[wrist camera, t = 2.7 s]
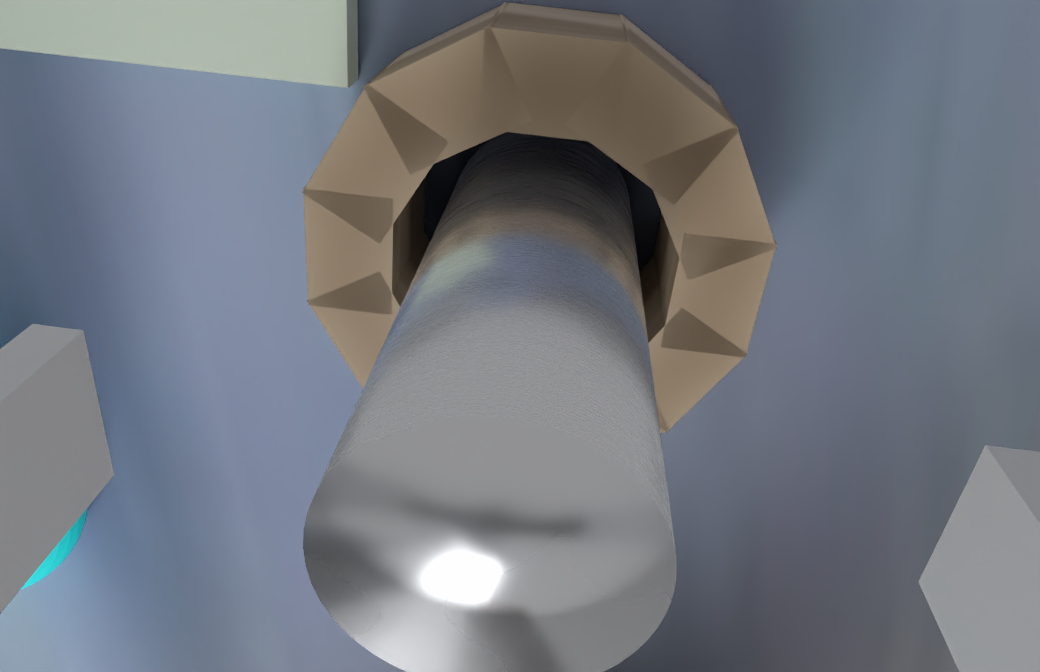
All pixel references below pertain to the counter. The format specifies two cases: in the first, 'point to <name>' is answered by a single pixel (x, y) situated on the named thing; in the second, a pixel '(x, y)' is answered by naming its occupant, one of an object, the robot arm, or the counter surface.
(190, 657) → the counter surface
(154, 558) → the counter surface
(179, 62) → the board
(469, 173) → the plug
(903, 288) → the counter surface
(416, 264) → the collar
